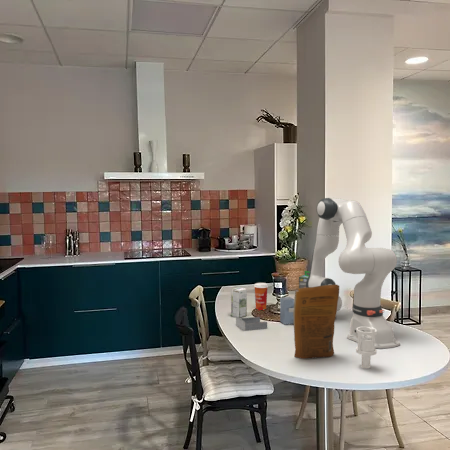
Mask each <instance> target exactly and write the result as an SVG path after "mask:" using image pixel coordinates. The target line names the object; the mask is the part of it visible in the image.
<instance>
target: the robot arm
mask: <svg viewBox="0 0 450 450" xmlns="http://www.w3.org/2000/svg"><path fill="white" fill-rule="evenodd" d="M316 214H317V216H318V223H317V228H316V239H315V245H314V248H313V252H312V256H311V262H310V269H309V271H310V274H309V273H308V275H309V277H308V279H307V281H306V288H307V287H316V286H323V285H337V284H336V282H335V281H334V280H333V279H331V278H330V277H325V276H324V277H323V270H324V262H325V259H326V258H327V257H328V256H329V255H330V254H333V253H334V252H335V251H336V250H337V249H338V246H339V243H340V226H341V225H342V226H343V230H344V232H345V233H344V234H345V236H346V245H345V248H344V249H343V251H342V252H340V254H339V256H338V266H339V268H340V270H341V271H342V272H343V273H345V274H351V275H352V274H353V275H361V274H363V275H364V276H363V278H362V280H360V281H358V282H357V283H356V284H355V285H354V287H353V303H352V313H353V314H352V317H351V318H350V322H349V323H350V324H349V325H350V326H349V334H347V339H348V340H351V341H353V342H356V343H358V333H357V332H356V328H357V327H371V328H375V329H376V330H377V334H376V335H375V349H389V348H395V347H396V348H397V347H398V346H401V342H400V341H399V340H398V339H396V338H395V332H394V329H393V325H391V324H389V322H388V320H387V319H386V318H385V317H384V313H385V309H383V308H382V305H381V297H382V287H383V284H384V282H385V280H386V278H387V277H388V275H389V274H390V273H392V271H393V270H395V268H396V267H397V263H398V262H397V261H398V260H397V259H398V258H397V255H396V253H395V251H393V250H392V249H390V248H384V247H366V245H365V244H367V242H369V241H370V240H371V238H372V235H373V232H372V228H371V226H370V223H369V219H368V217H367V214H366V212H365V210H364V208H363V206H362V205H361V204H360V202H358V201H357V200H349V199H342V198H335V197H333V198H331V197H324V198H321V199H320V200H319V201H318V203H317V205H316ZM342 305H343V300H342V297H341V296H340V295H339V299H338V304H337V312H338V311H340V310H341V308H342ZM293 311H294V308H288V312H293ZM359 331H363V332H370V330H359ZM364 337H365V336H364Z"/></svg>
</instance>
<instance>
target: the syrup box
mask: <svg viewBox="0 0 450 450" xmlns="http://www.w3.org/2000/svg"><path fill="white" fill-rule="evenodd" d="M230 293H231V297H230V298H231V299H230V300H231V302H230V303H231V308H230V309H231V312H230V314H231V315H230V316H231V317H233V318H236V317H239V318H245V317H247V315H248V314H247V307H248V306H247V305H248V302H247V300H248V297H247V296H248V294H247V293H248V291H247V288H244V287H240V286H239V287H236V288H231V292H230Z"/></svg>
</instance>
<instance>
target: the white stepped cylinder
mask: <svg viewBox="0 0 450 450" xmlns="http://www.w3.org/2000/svg"><path fill="white" fill-rule="evenodd" d="M359 330H370V332H363V331H359ZM356 332H357V333H358V342H357V346H356V347H355V353H356V354H358V355H361V364H360V366H361V368H362V369H366V370H367V369H370V368H371V356H372V357H373V356H375V355H377V348H375V335H376V334H377V330H376V329H375V328H371V327H357V328H356ZM364 336H365V337H364Z"/></svg>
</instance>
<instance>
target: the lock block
mask: <svg viewBox="0 0 450 450" xmlns="http://www.w3.org/2000/svg"><path fill="white" fill-rule="evenodd" d="M279 302H280V303H279V304H280V305H279V309H280V310H279V311H280V312H279V316H280V317H279V322H280V323H282V324H283V325H294V322H293V321H294V317H293V312H288V308H294V297H293V298H292V297H290V296H285V297H284V296H283V297H280V298H279Z"/></svg>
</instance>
